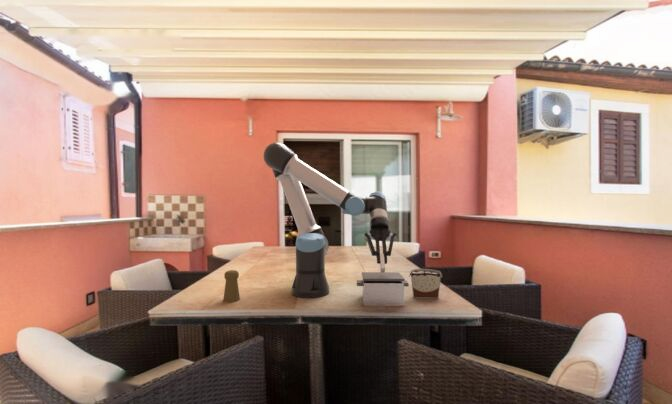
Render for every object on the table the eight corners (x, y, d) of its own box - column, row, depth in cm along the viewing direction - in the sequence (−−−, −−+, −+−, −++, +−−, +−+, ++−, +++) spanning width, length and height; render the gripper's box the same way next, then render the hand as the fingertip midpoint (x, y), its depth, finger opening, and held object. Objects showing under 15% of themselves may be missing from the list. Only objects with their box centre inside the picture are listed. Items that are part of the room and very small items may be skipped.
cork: (243, 299, 121) (242, 270, 121) (228, 303, 116) (228, 273, 116) (234, 296, 125) (234, 268, 125) (220, 299, 120) (220, 270, 120)
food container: (438, 293, 127) (438, 268, 127) (442, 298, 121) (442, 272, 121) (407, 293, 128) (407, 268, 128) (409, 297, 122) (409, 271, 122)
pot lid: (363, 280, 113) (363, 278, 113) (361, 274, 125) (361, 272, 125) (404, 281, 112) (404, 278, 112) (399, 274, 125) (399, 272, 125)
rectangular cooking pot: (357, 305, 113) (357, 283, 113) (356, 295, 125) (356, 275, 125) (410, 306, 112) (410, 283, 112) (404, 296, 124) (404, 275, 124)
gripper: (393, 227, 137) (399, 275, 120) (363, 227, 137) (364, 275, 121) (395, 216, 131) (401, 264, 115) (363, 216, 132) (365, 264, 116)
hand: (382, 270), depth 118 cm, fingers closed
